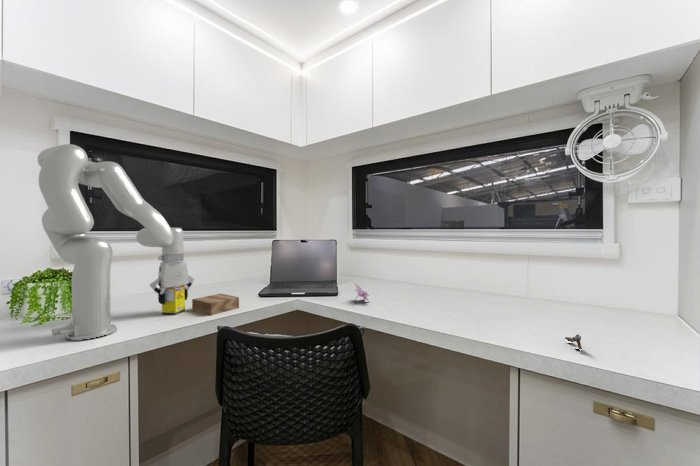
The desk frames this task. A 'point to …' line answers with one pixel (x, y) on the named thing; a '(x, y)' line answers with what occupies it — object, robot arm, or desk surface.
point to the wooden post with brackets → (576, 338)
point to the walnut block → (215, 304)
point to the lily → (361, 292)
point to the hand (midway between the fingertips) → (173, 301)
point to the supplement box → (174, 300)
